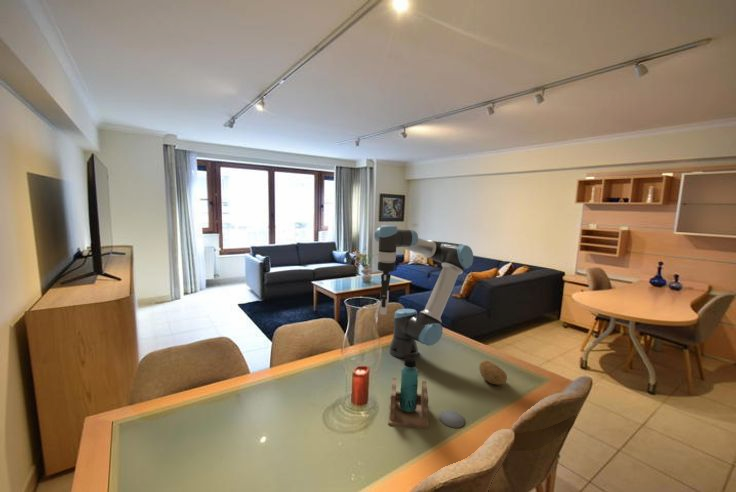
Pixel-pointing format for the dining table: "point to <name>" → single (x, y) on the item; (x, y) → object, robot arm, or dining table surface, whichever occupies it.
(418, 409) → the holder
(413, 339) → the robot arm
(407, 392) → the beverage bottle
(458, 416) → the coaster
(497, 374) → the potato
